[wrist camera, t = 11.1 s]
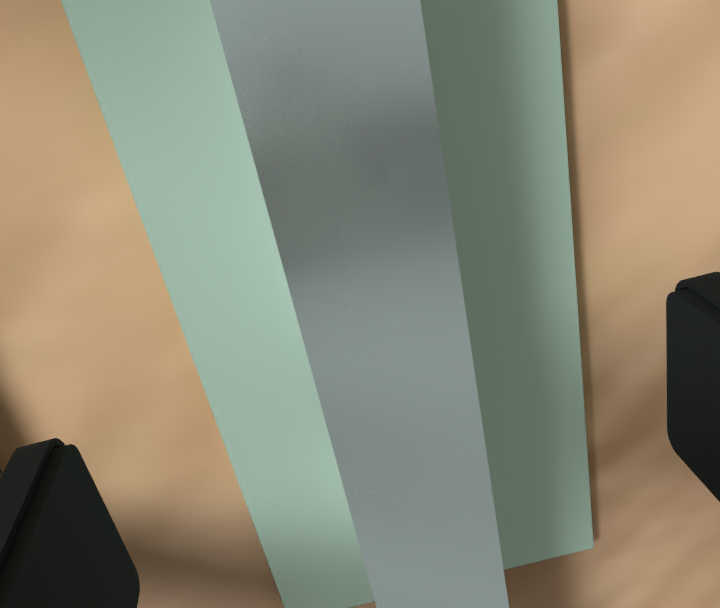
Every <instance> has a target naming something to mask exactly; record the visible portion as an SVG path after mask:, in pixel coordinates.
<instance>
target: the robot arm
mask: <svg viewBox="0 0 720 608" xmlns="http://www.w3.org/2000/svg"><path fill="white" fill-rule="evenodd" d="M666 321H667V431H668V437H669V440H670V443H671V445H672V447H673V449H674V451H675V452H676V453H677V455H678V456H679V457H680V458H681V459H682V460H683V461H684V462H685V464H686V465H687V466H688V467H689V468H690V469H691V470H692V471H693V472H694V474H695V475H696V476H697V477H698V478H699V479H700V480H701V481H702V483H703V484H704V485H705V486H706V487H707V488H708V489H709V490H710V491H711V493H712V494H713V495H714V496H715V497H716V498H717V499H718V500H719V501H720V273H719V272H713V273H709V274H705V275H701V276H697V277H693V278H689V279H685V280H681V281H680V282H679V283H678V284H677V286H676V288H675V292H671V293H670V294H669V295H668V297H667V302H666ZM139 591H140V587H139V577H138V573H137V570H136V568H135V566H134V564H133V561H132V559H131V557H130V555H129V553H128V551H127V549H126V547H125V545H124V543H123V541H122V539H121V537H120V535H119V533H118V531H117V528H116V526H115V524H114V522H113V520H112V518H111V516H110V514H109V512H108V510H107V508H106V506H105V504H104V502H103V500H102V498H101V495H100V493H99V491H98V489H97V487H96V485H95V483H94V481H93V479H92V477H91V475H90V473H89V471H88V469H87V467H86V465H85V462H84V460H83V458H82V456H81V454H80V452H79V451H78V449H77V447H76V446H74V445H72V444H69V445H64V443H63V442H62V441H61V440H60V439H57V438H54V439H50V440H46V441H42V442H38V443H34V444H31V445H27V446H23V447H19V448H17V449H16V450H15V451H14V453H13V454H12V456H11V458H10V460H9V462H8V464H7V466H6V468H5V470H4V472H3V474H2V476H1V478H0V608H137V604H138V598H139Z"/></svg>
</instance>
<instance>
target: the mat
mask: <svg viewBox="0 0 720 608" xmlns="http://www.w3.org/2000/svg"><path fill="white" fill-rule="evenodd" d="M61 2H62V5H63V7H64V10H65V13H66V16H67V18H68V21H69V24H70V26H71V29H72V32H73V35H74V37H75V40H76V43H77V45H78V48H79V51H80V54H81V56H82V59H83V62H84V64H85V67H86V70H87V73H88V75H89V78H90V81H91V83H92V86H93V89H94V92H95V94H96V97H97V100H98V102H99V105H100V108H101V111H102V113H103V116H104V119H105V121H106V124H107V127H108V130H109V132H110V135H111V138H112V140H113V143H114V146H115V149H116V151H117V154H118V157H119V159H120V162H121V165H122V168H123V170H124V173H125V176H126V178H127V181H128V184H129V187H130V189H131V192H132V195H133V197H134V200H135V203H136V206H137V208H138V211H139V214H140V216H141V219H142V222H143V225H144V227H145V230H146V233H147V235H148V238H149V241H150V244H151V246H152V249H153V252H154V254H155V257H156V260H157V263H158V265H159V268H160V271H161V273H162V276H163V279H164V282H165V284H166V287H167V290H168V292H169V295H170V298H171V301H172V303H173V306H174V309H175V311H176V314H177V317H178V320H179V322H180V325H181V328H182V330H183V333H184V336H185V339H186V341H187V344H188V347H189V349H190V352H191V355H192V358H193V360H194V363H195V366H196V368H197V371H198V374H199V377H200V379H201V382H202V385H203V387H204V390H205V393H206V396H207V398H208V401H209V404H210V406H211V409H212V412H213V415H214V417H215V420H216V423H217V425H218V428H219V431H220V434H221V436H222V439H223V442H224V444H225V447H226V450H227V453H228V455H229V458H230V461H231V463H232V466H233V469H234V472H235V474H236V477H237V480H238V482H239V485H240V488H241V491H242V493H243V496H244V499H245V501H246V504H247V507H248V510H249V512H250V515H251V518H252V520H253V523H254V526H255V529H256V531H257V534H258V537H259V539H260V542H261V545H262V547H263V550H264V553H265V556H266V558H267V561H268V564H269V566H270V569H271V572H272V575H273V577H274V580H275V583H276V585H277V588H278V591H279V594H280V596H281V599H282V602H283V604H284V607H285V608H350V607H354V606H358V605H362V604H366V603H370V602H375V601H374V597H373V593H372V590H371V586H370V582H369V579H368V575H367V571H366V568H365V564H364V560H363V557H362V553H361V549H360V546H359V542H358V539H357V535H356V531H355V528H354V524H353V520H352V517H351V513H350V509H349V506H348V502H347V498H346V495H345V491H344V488H343V484H342V480H341V477H340V473H339V469H338V466H337V462H336V458H335V455H334V451H333V447H332V444H331V440H330V437H329V433H328V429H327V426H326V422H325V418H324V415H323V411H322V407H321V404H320V400H319V396H318V393H317V389H316V386H315V382H314V378H313V375H312V371H311V367H310V364H309V360H308V356H307V353H306V349H305V345H304V342H303V338H302V335H301V331H300V327H299V324H298V320H297V316H296V313H295V309H294V305H293V302H292V298H291V294H290V291H289V287H288V284H287V280H286V276H285V273H284V269H283V265H282V262H281V258H280V254H279V251H278V247H277V243H276V240H275V236H274V232H273V229H272V225H271V222H270V218H269V214H268V211H267V207H266V203H265V200H264V196H263V192H262V189H261V185H260V181H259V178H258V174H257V171H256V167H255V163H254V160H253V156H252V152H251V149H250V145H249V141H248V138H247V134H246V130H245V127H244V123H243V120H242V116H241V112H240V109H239V105H238V101H237V98H236V94H235V90H234V87H233V83H232V79H231V76H230V72H229V69H228V65H227V61H226V58H225V54H224V50H223V47H222V43H221V39H220V36H219V32H218V28H217V25H216V21H215V18H214V14H213V10H212V7H211V3H210V0H61ZM420 3H421V9H422V16H423V23H424V30H425V37H426V44H427V50H428V57H429V64H430V71H431V78H432V84H433V91H434V98H435V105H436V112H437V119H438V125H439V132H440V139H441V146H442V153H443V160H444V166H445V173H446V180H447V187H448V194H449V200H450V207H451V214H452V221H453V228H454V235H455V241H456V248H457V255H458V262H459V269H460V275H461V282H462V289H463V296H464V303H465V310H466V316H467V323H468V330H469V337H470V344H471V350H472V357H473V364H474V371H475V378H476V385H477V391H478V398H479V405H480V412H481V419H482V426H483V432H484V439H485V446H486V453H487V460H488V466H489V473H490V480H491V487H492V494H493V501H494V507H495V514H496V521H497V528H498V535H499V541H500V548H501V555H502V562H503V569H504V570H505V569H510V568H514V567H518V566H522V565H526V564H530V563H534V562H538V561H542V560H546V559H550V558H555V557H559V556H563V555H567V554H571V553H575V552H579V551H583V550H587V549H591V548H594V544H593V529H592V514H591V499H590V484H589V469H588V454H587V439H586V424H585V409H584V394H583V379H582V364H581V349H580V334H579V319H578V304H577V289H576V274H575V259H574V244H573V229H572V214H571V199H570V184H569V169H568V154H567V139H566V124H565V109H564V94H563V78H562V63H561V48H560V33H559V18H558V3H557V0H420Z"/></svg>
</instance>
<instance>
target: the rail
mask: <svg viewBox="0 0 720 608" xmlns="http://www.w3.org/2000/svg"><path fill="white" fill-rule="evenodd" d="M210 3H211V7H212V10H213V14H214V18H215V21H216V25H217V28H218V32H219V36H220V39H221V43H222V47H223V50H224V54H225V58H226V61H227V65H228V69H229V72H230V76H231V79H232V83H233V87H234V90H235V94H236V98H237V101H238V105H239V109H240V112H241V116H242V120H243V123H244V127H245V130H246V134H247V138H248V141H249V145H250V149H251V152H252V156H253V160H254V163H255V167H256V171H257V174H258V178H259V181H260V185H261V189H262V192H263V196H264V200H265V203H266V207H267V211H268V214H269V218H270V222H271V225H272V229H273V232H274V236H275V240H276V243H277V247H278V251H279V254H280V258H281V262H282V265H283V269H284V273H285V276H286V280H287V284H288V287H289V291H290V294H291V298H292V302H293V305H294V309H295V313H296V316H297V320H298V324H299V327H300V331H301V335H302V338H303V342H304V345H305V349H306V353H307V356H308V360H309V364H310V367H311V371H312V375H313V378H314V382H315V386H316V389H317V393H318V396H319V400H320V404H321V407H322V411H323V415H324V418H325V422H326V426H327V429H328V433H329V437H330V440H331V444H332V447H333V451H334V455H335V458H336V462H337V466H338V469H339V473H340V477H341V480H342V484H343V488H344V491H345V495H346V498H347V502H348V506H349V509H350V513H351V517H352V520H353V524H354V528H355V531H356V535H357V539H358V542H359V546H360V549H361V553H362V557H363V560H364V564H365V568H366V571H367V575H368V579H369V582H370V586H371V590H372V593H373V597H374V601H375V604H376V608H509V603H508V596H507V589H506V582H505V576H504V569H503V562H502V555H501V548H500V541H499V535H498V528H497V521H496V514H495V507H494V501H493V494H492V487H491V480H490V473H489V466H488V460H487V453H486V446H485V439H484V432H483V426H482V419H481V412H480V405H479V398H478V391H477V385H476V378H475V371H474V364H473V357H472V350H471V344H470V337H469V330H468V323H467V316H466V310H465V303H464V296H463V289H462V282H461V275H460V269H459V262H458V255H457V248H456V241H455V235H454V228H453V221H452V214H451V207H450V200H449V194H448V187H447V180H446V173H445V166H444V160H443V153H442V146H441V139H440V132H439V125H438V119H437V112H436V105H435V98H434V91H433V84H432V78H431V71H430V64H429V57H428V50H427V44H426V37H425V30H424V23H423V16H422V9H421V3H420V0H210Z"/></svg>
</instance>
